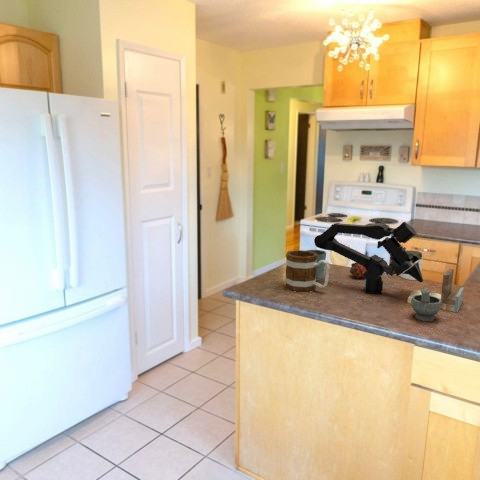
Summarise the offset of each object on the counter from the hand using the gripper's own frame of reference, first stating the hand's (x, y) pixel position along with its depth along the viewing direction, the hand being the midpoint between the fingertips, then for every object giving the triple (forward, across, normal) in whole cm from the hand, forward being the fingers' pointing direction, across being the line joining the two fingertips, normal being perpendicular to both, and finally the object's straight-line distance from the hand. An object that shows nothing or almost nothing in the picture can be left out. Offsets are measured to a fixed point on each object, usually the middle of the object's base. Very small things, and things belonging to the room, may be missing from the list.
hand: (422, 281), depth 168 cm
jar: (-2, -30, -13) cm, 33 cm away
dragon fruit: (-16, -18, -27) cm, 36 cm away
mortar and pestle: (+9, +19, -2) cm, 21 cm away
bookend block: (+11, 0, +4) cm, 12 cm away
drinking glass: (-28, -5, -40) cm, 49 cm away
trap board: (+9, 0, -2) cm, 9 cm away
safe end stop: (+15, 0, +4) cm, 15 cm away
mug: (-24, +13, -36) cm, 45 cm away
